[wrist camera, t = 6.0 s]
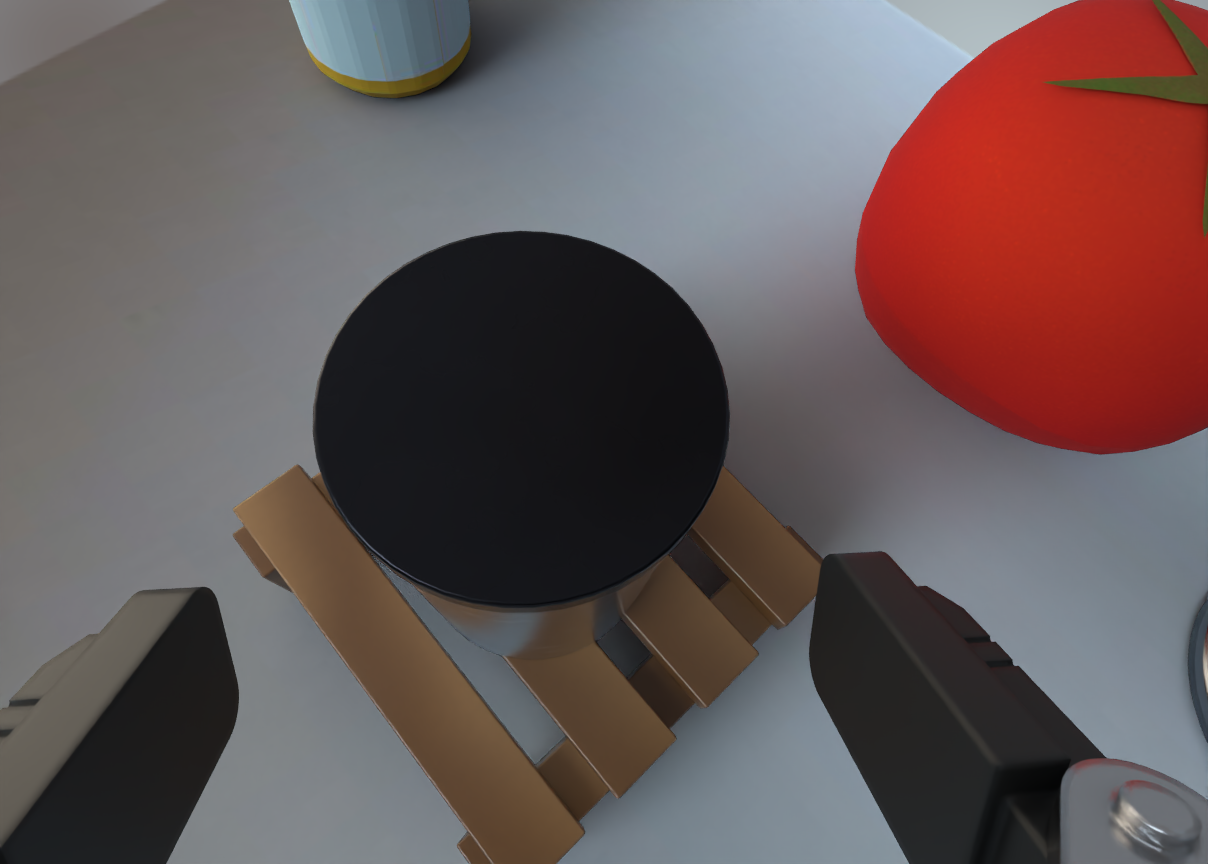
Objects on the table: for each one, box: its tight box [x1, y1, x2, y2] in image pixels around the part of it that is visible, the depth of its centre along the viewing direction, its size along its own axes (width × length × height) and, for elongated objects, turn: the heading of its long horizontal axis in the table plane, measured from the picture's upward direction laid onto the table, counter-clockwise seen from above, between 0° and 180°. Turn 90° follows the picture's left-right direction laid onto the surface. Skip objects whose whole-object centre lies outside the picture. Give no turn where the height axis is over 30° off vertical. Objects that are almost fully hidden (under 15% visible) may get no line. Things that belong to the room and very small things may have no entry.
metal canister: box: [313, 231, 730, 660], centre depth 15 cm, size 6×6×9 cm
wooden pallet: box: [233, 465, 823, 864], centre depth 20 cm, size 12×12×4 cm
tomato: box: [855, 0, 1208, 454], centre depth 22 cm, size 13×14×12 cm
